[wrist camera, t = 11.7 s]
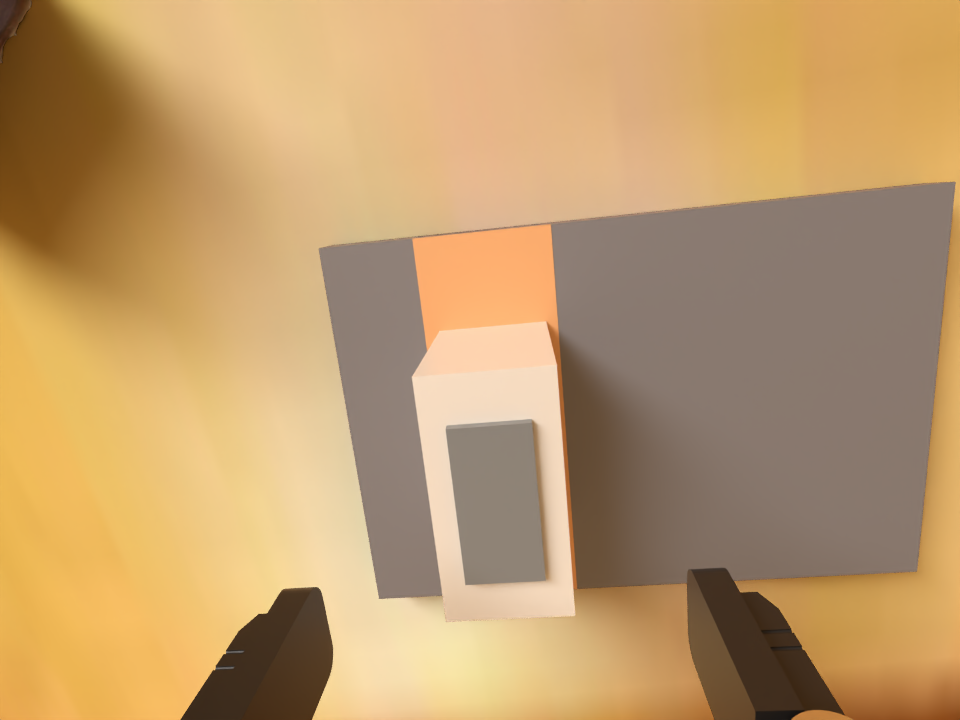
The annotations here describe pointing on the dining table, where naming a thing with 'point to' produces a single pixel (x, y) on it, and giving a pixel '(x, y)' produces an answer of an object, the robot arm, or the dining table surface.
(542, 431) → the block
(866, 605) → the dining table surface
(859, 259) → the board
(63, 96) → the dining table surface
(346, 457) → the dining table surface
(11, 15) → the flask
